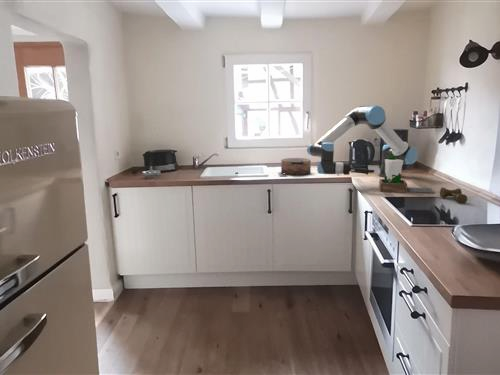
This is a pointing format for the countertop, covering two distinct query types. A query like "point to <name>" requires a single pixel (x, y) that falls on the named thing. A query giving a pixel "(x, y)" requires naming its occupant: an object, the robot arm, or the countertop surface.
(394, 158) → the soya milk
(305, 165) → the wicker basket
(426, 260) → the countertop surface
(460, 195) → the kendama
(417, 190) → the rubber mat
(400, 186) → the collar
